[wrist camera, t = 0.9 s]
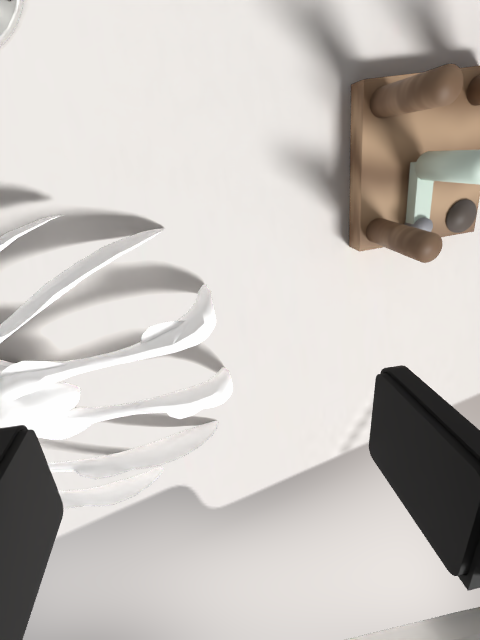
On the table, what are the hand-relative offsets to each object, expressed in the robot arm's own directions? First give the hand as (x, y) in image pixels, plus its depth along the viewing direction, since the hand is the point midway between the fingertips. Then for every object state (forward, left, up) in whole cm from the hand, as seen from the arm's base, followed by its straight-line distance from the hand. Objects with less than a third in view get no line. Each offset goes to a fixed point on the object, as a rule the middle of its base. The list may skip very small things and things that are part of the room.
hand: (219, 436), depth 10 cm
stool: (-3, +26, -31) cm, 40 cm away
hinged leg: (-1, +25, -28) cm, 37 cm away
